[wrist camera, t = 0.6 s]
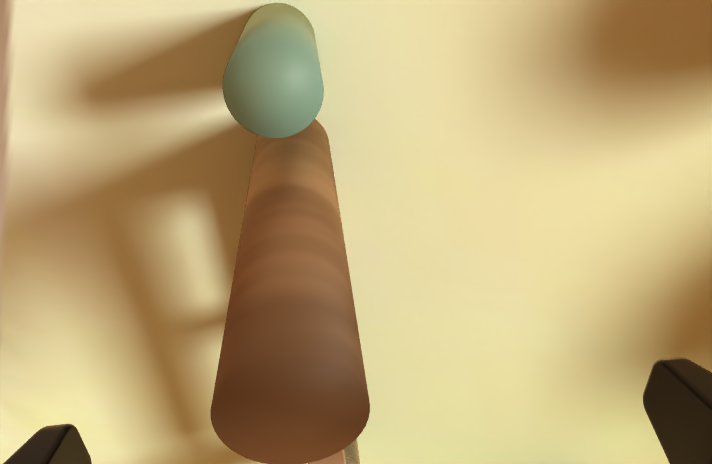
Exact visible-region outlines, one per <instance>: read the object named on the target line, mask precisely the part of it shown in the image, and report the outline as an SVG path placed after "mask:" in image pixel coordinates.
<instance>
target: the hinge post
mask: <svg viewBox="0 0 712 464" xmlns="http://www.w3.org/2000/svg"><path fill="white" fill-rule="evenodd" d="M345 460H346V464H360V460H359V452H358V444H357V438H356V439H355V440H354V441H353V442H352V443H351V444H350V445H348V446H347V447H346V454H345Z"/></svg>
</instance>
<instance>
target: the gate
mask: <svg viewBox="0 0 712 464" xmlns="http://www.w3.org/2000/svg"><path fill="white" fill-rule="evenodd" d="M369 412H370V403H369V397H368V390H367V384H366V378H365V371H364V365H363V358H362V352H361V345H360V339H359V333H358V326H357V320H356V313H355V307H354V301H353V294H352V288H351V281H350V275H349V268H348V262H347V256H346V249H345V243H344V236H343V230H342V223H341V217H340V211H339V204H338V198H337V191H336V185H335V179H334V172H333V166H332V159H331V153H330V146H329V140H328V136H327V134H326V131H325V130H324V128H323V127H322V125H321V124H320V123H319V122H318V121H317V120H316V119H314V120H313V121H312V122H311V124H310V125H309V126H307V127H306V128H305V129H304V130H302V131H300V132H299V133H296V134H294V135H292V136H288V137H283V138H268V137H263V136H260V135H258V136H257V142H256V148H255V153H254V159H253V165H252V171H251V177H250V183H249V189H248V195H247V200H246V206H245V212H244V218H243V224H242V230H241V236H240V242H239V247H238V253H237V259H236V265H235V271H234V277H233V283H232V289H231V294H230V300H229V306H228V312H227V318H226V324H225V330H224V336H223V341H222V347H221V353H220V359H219V365H218V371H217V377H216V383H215V388H214V394H213V400H212V406H211V421H212V425H213V428H214V430H215V432H216V434H217V435H218V437H219V438H220V439H221V441H222V442H223V443H224V444H225V445H226V446H228V447H229V448H230V449H231V450H233V451H234V452H236V453H238V454H240V455H242V456H244V457H246V458H248V459H251V460H254V461H258V462H261V463H267V464H305V463H308V464H346V460H345V454H346V447H347V446H348V445H350V444H351V443H352V442H353V441H354V440H355V439H356V438H357V437H358V436H359V435H360V433H361V432H362V431H363V429H364V427H365V426H366V423H367V421H368V417H369Z"/></svg>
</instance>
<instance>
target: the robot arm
mask: <svg viewBox="0 0 712 464" xmlns="http://www.w3.org/2000/svg"><path fill="white" fill-rule="evenodd" d="M643 404H644V408H645V411H646V413H647V415H648V417H649V419H650V422H651V424H652V426H653V428H654V430H655V432H656V435H657V437H658V439H659V441H660V443H661V445H662V448H663V450H664V452H665V454H666V456H667V458H668V460H669V463H670V464H712V373H711V372H710V371H708V370H706V369H704V368H702V367H701V366H699V365H697V364H695V363H694V362H692V361H690V360H688V359H685V358H681V357H677V358H667V359H660V360H657V361H656V362H655V363H654V365H653V367H652V370H651V373H650V376H649V379H648V382H647V384H646V387H645V390H644V394H643ZM4 464H92V463H91V458H90V455H89V453H88V451H87V449H86V447H85V445H84V443H83V441H82V438H81V436H80V434H79V432H78V430H77V428H76V427H75V426H73V425H72V424H62V425H53V426H46V427H44V428H42V429H40V430H39V431H38V432H36V433H35V434H34V435H33V436H32V437H31V438H30V439H29V440H28V441H27V442H26V443H25V444H24V445H23V446H22V447H20V448H19V449H18V450H17V451H16V452H15V453H14V454H13V455H12V456H11V457H10V458H9V459H8V460H7V461H6V462H5V463H4Z"/></svg>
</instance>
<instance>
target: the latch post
mask: <svg viewBox="0 0 712 464" xmlns="http://www.w3.org/2000/svg"><path fill="white" fill-rule="evenodd" d="M323 94H324V89H323V80H322V75H321V69H320V63H319V58H318V52H317V46H316V41H315V35H314V31H313V28H312V26H311V24H310V22H309V20H308V19H307V18H306V16H305V15H304V14H303V13H302V12H301V11H299V10H298V9H296V8H295V7H293V6H290V5H287V4H283V3H272V4H268V5H265V6H263V7H261V8H259V9H258V10H256V11H255V12H254V13H253V14H252V15H251V17H250V18H249V20H248V21H247V23H246V26H245V28H244V30H243V32H242V34H241V36H240V39H239V41H238V43H237V45H236V47H235V49H234V52H233V54H232V56H231V58H230V60H229V62H228V65H227V67H226V69H225V73H224V76H223V95H224V99H225V102H226V105H227V107H228V109H229V111H230V113H231V114H232V116H233V117H234V118H235V120H236V121H237V122H238V123H239V124H240V125H242V126H243V127H244V128H245V129H247V130H249V131H250V132H252V133H254V134H257V135H260V136H263V137H268V138H283V137H288V136H292V135H294V134H296V133H299V132H300V131H302V130H304V129H305V128H306V127H307V126H309V125H310V124H311V122H312V121H313V120H314V119H315V117H316V116H317V114H318V112H319V110H320V108H321V105H322V101H323Z"/></svg>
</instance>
